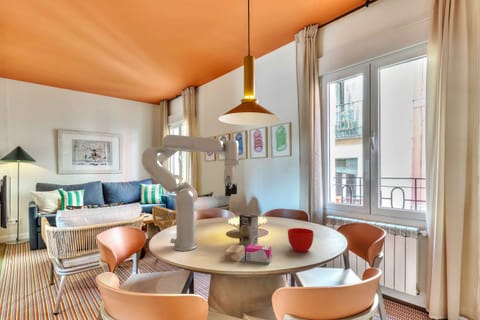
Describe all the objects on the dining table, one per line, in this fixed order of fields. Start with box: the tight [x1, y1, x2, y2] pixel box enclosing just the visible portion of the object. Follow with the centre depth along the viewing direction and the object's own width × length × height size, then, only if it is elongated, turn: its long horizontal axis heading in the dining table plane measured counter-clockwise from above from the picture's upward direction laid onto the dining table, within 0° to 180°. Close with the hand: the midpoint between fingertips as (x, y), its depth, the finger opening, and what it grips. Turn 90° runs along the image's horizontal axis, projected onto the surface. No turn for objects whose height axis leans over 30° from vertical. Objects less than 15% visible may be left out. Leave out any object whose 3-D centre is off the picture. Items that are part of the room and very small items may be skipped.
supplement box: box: [244, 244, 272, 264], centre depth 119 cm, size 6×6×12 cm
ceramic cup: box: [287, 227, 314, 253], centre depth 135 cm, size 13×17×10 cm
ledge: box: [224, 244, 245, 262], centre depth 124 cm, size 6×11×4 cm, turn 164°
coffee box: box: [238, 213, 259, 246], centre depth 146 cm, size 9×6×16 cm
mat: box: [239, 254, 273, 266], centre depth 121 cm, size 13×12×1 cm
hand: (231, 195), depth 138 cm, fingers open, 9 cm apart
